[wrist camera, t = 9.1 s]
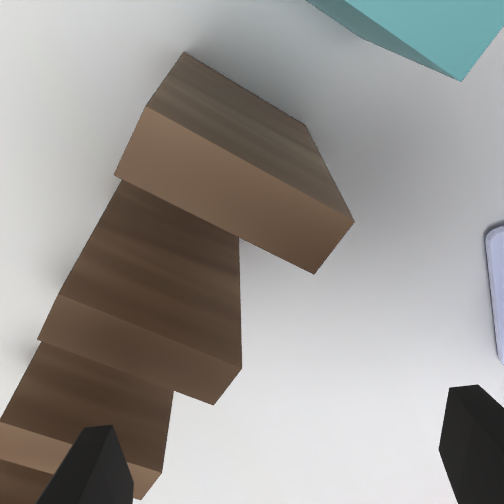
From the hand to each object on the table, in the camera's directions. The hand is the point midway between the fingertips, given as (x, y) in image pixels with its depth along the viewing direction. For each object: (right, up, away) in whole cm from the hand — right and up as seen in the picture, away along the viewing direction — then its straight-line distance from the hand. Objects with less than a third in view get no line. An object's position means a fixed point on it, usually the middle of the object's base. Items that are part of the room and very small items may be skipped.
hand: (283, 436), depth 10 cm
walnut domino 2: (-6, +2, +11) cm, 13 cm away
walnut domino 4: (-1, +9, +7) cm, 11 cm away
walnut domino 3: (-4, +5, +9) cm, 11 cm away
